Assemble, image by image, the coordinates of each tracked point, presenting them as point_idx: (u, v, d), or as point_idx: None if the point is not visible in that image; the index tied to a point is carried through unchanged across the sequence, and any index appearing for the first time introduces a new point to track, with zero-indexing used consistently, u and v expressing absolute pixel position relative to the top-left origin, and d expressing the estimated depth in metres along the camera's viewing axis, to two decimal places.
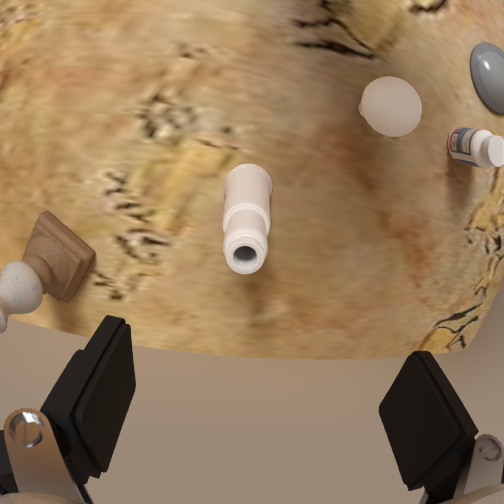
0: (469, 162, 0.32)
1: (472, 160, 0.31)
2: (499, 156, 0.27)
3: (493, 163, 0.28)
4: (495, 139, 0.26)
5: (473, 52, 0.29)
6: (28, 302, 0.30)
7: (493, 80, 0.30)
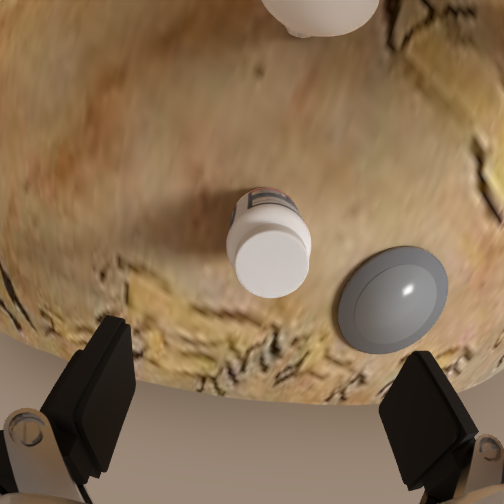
0: (232, 219, 0.20)
1: (237, 216, 0.19)
2: (261, 272, 0.16)
3: (240, 253, 0.16)
4: (299, 254, 0.16)
5: (432, 255, 0.25)
6: None
7: (392, 296, 0.27)
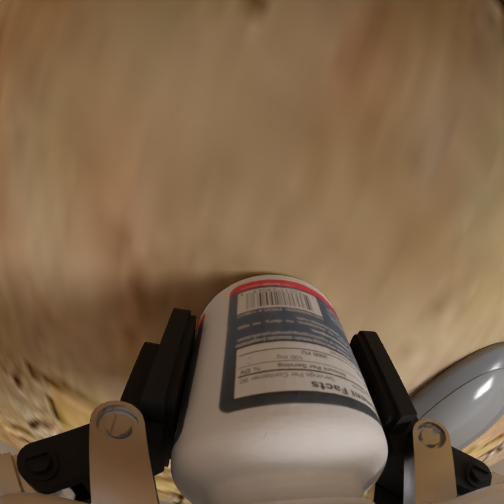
0: (187, 390, 0.07)
1: (193, 416, 0.06)
2: None
3: None
4: None
5: None
6: None
7: (460, 411, 0.14)
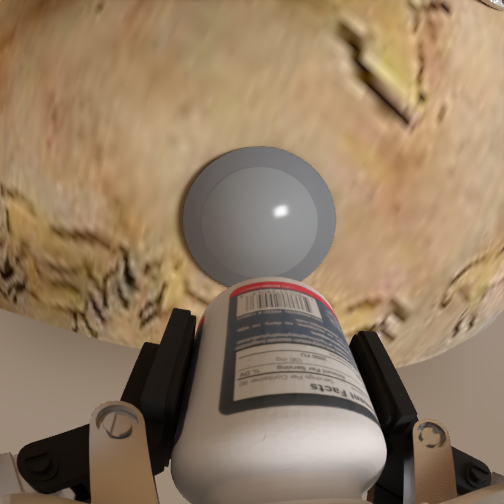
0: (187, 392, 0.07)
1: (193, 418, 0.06)
2: None
3: None
4: None
5: None
6: None
7: (249, 210, 0.23)
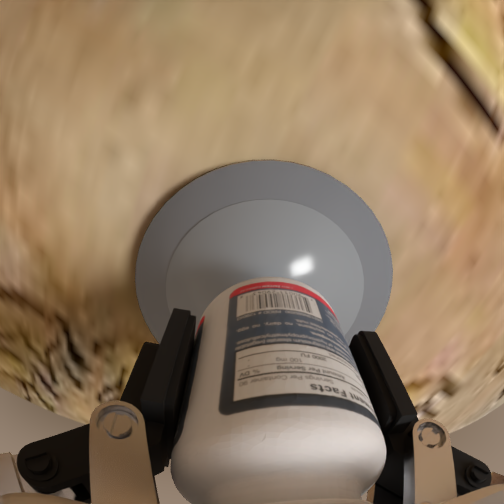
0: (187, 392, 0.07)
1: (193, 418, 0.06)
2: None
3: None
4: None
5: None
6: None
7: (248, 275, 0.13)
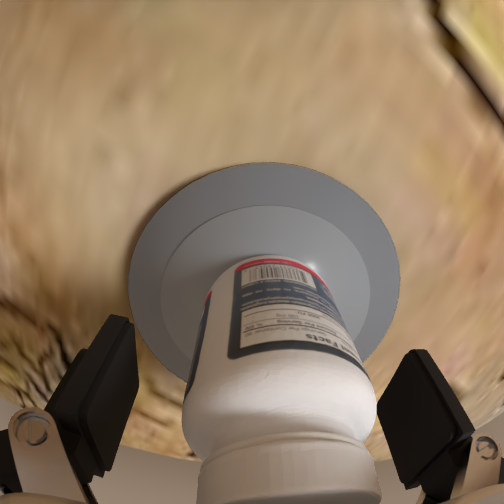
0: (197, 351, 0.08)
1: (204, 368, 0.07)
2: None
3: None
4: (363, 503, 0.04)
5: (341, 184, 0.11)
6: None
7: None
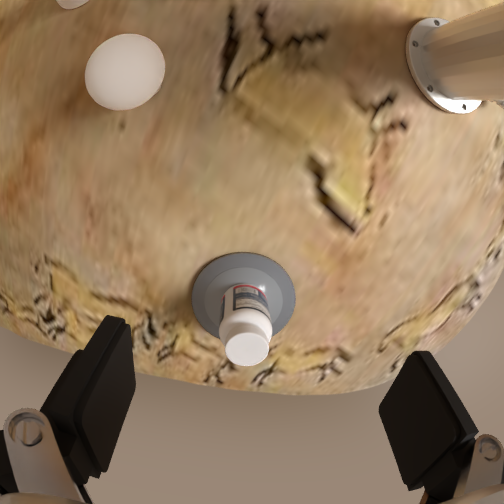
0: (223, 311, 0.31)
1: (226, 314, 0.29)
2: (240, 353, 0.27)
3: (228, 343, 0.27)
4: (263, 344, 0.27)
5: (269, 260, 0.34)
6: None
7: None
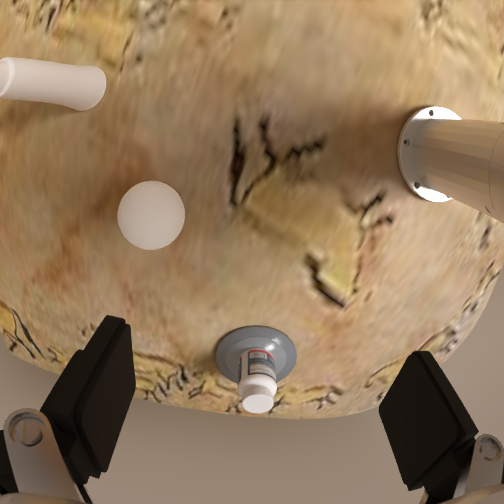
0: (240, 373, 0.40)
1: (243, 376, 0.38)
2: (253, 405, 0.36)
3: (244, 400, 0.35)
4: (269, 401, 0.35)
5: (275, 331, 0.42)
6: None
7: None
